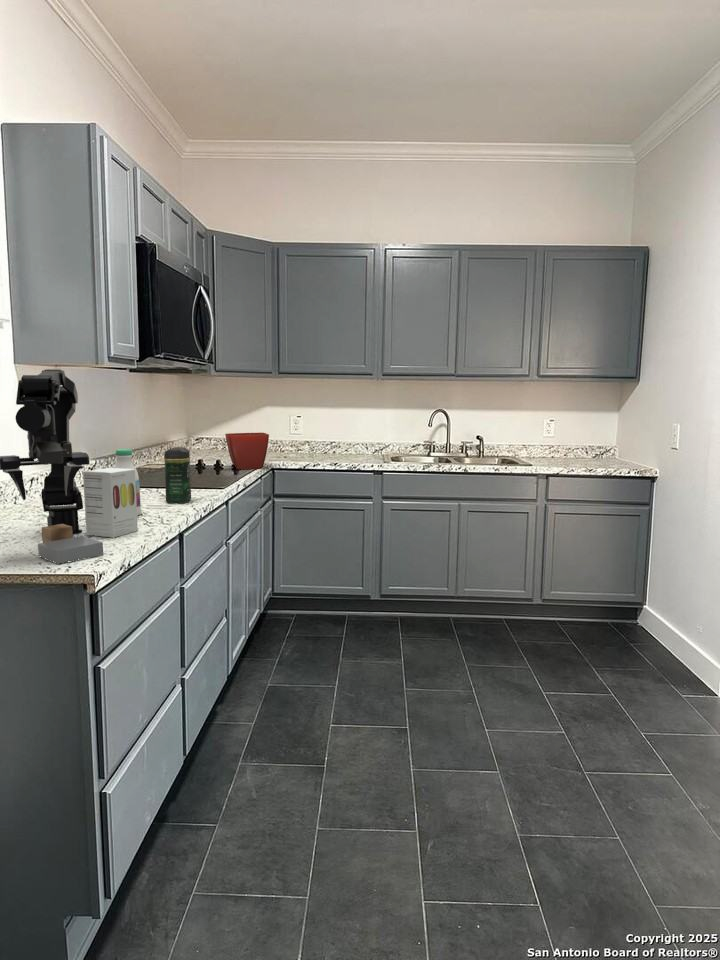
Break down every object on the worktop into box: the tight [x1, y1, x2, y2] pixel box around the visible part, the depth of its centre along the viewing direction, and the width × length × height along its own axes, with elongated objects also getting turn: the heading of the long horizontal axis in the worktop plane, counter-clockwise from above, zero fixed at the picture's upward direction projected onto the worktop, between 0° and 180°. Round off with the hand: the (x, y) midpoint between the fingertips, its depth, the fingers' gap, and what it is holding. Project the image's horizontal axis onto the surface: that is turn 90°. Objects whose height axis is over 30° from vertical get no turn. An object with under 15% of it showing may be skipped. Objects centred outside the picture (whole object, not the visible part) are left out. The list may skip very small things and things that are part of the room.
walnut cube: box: [41, 524, 74, 543], centre depth 150 cm, size 5×5×5 cm
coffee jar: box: [163, 446, 192, 504], centre depth 211 cm, size 10×8×19 cm
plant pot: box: [225, 432, 270, 470], centre depth 306 cm, size 19×19×17 cm
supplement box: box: [82, 467, 139, 539], centre depth 164 cm, size 10×9×17 cm
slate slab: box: [37, 535, 104, 564], centre depth 141 cm, size 10×10×3 cm
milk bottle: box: [114, 448, 142, 517], centre depth 187 cm, size 8×8×20 cm
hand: (46, 497), depth 145 cm, fingers open, 9 cm apart
